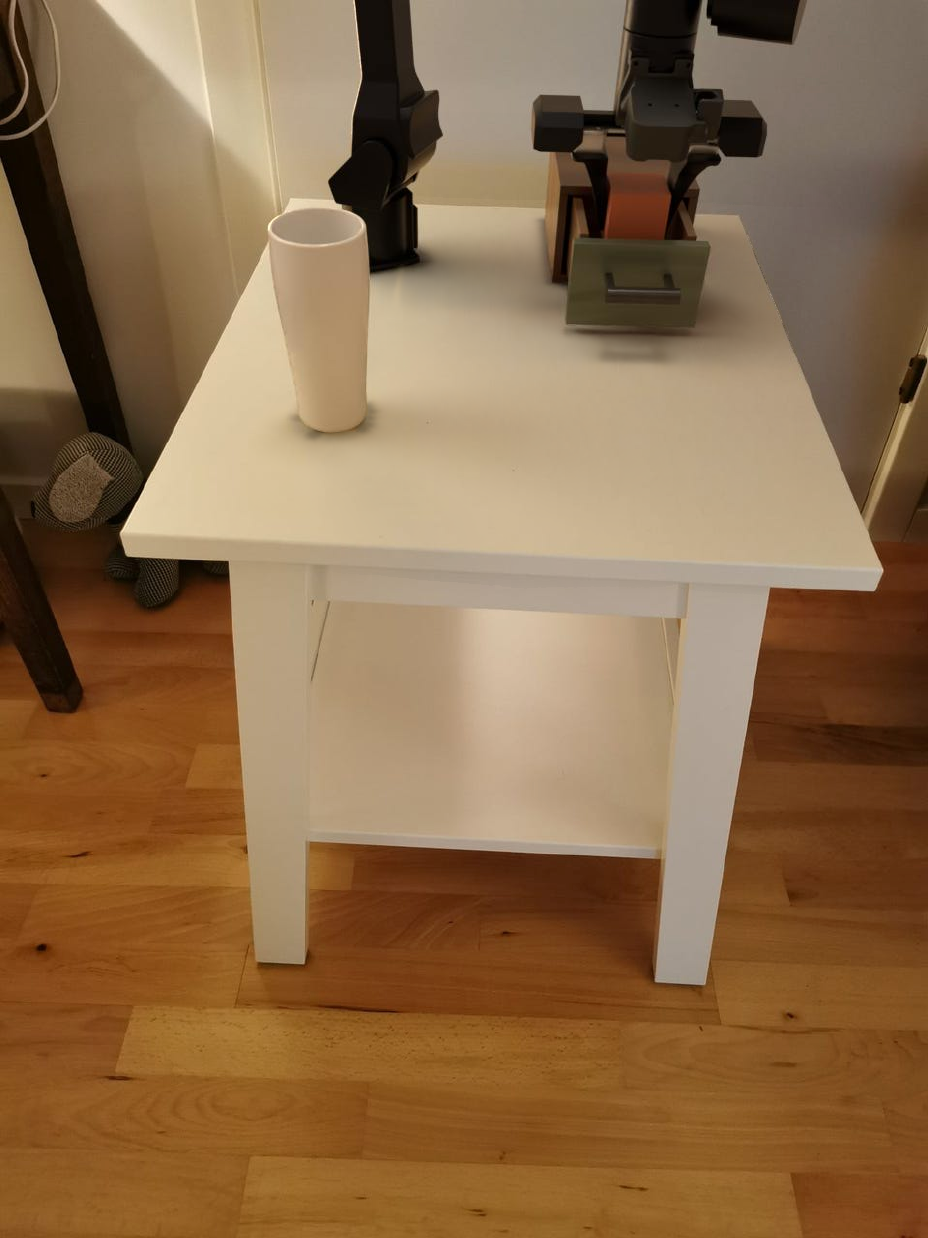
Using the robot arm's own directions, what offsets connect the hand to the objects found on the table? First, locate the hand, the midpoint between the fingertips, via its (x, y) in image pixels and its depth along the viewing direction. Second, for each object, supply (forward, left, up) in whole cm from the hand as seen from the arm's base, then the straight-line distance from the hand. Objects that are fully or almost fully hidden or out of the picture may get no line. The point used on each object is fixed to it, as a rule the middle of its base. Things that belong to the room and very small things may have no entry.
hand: (631, 229), depth 86 cm
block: (0, 0, -1) cm, 1 cm away
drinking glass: (-31, -8, -7) cm, 33 cm away
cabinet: (+5, +10, -7) cm, 13 cm away
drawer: (-1, -1, -6) cm, 6 cm away
